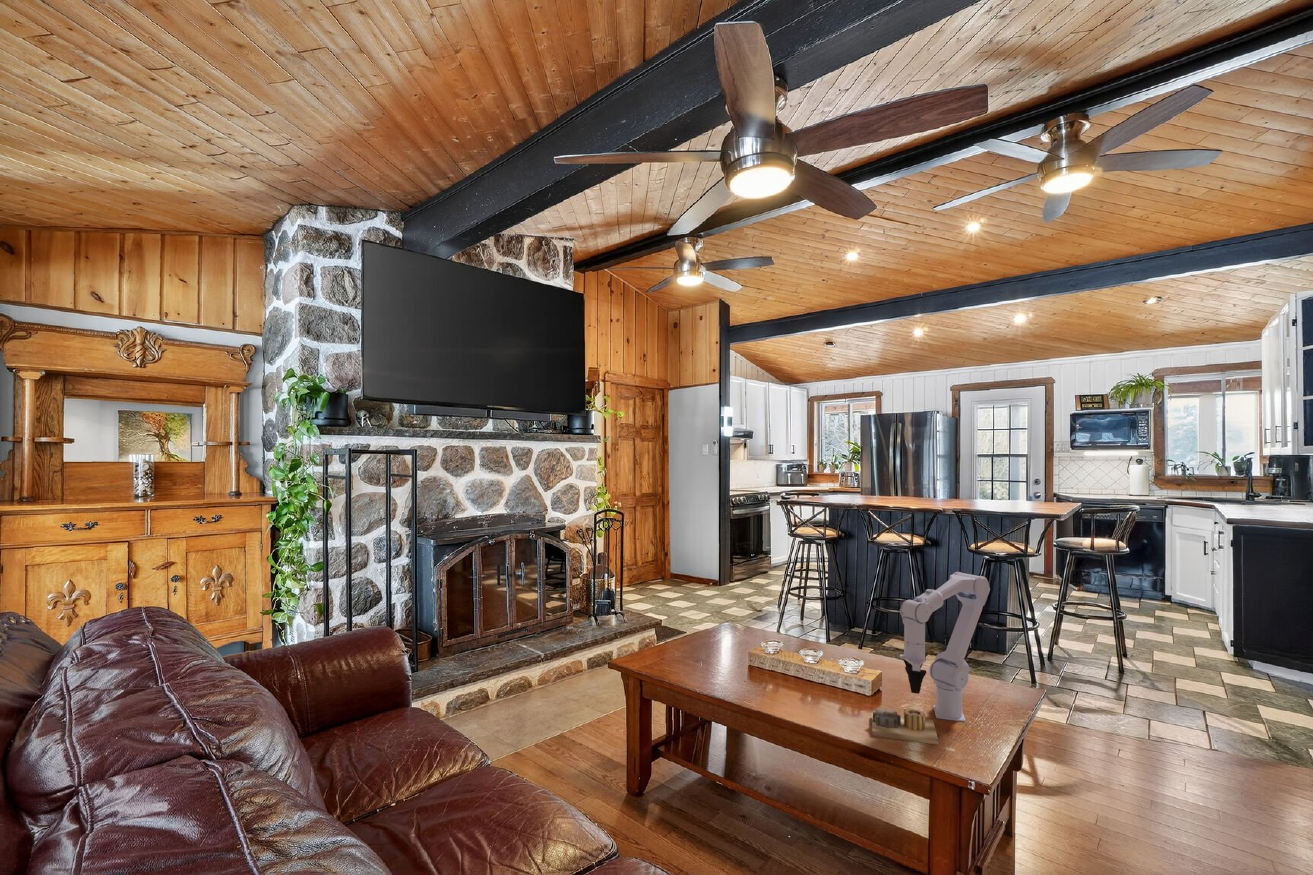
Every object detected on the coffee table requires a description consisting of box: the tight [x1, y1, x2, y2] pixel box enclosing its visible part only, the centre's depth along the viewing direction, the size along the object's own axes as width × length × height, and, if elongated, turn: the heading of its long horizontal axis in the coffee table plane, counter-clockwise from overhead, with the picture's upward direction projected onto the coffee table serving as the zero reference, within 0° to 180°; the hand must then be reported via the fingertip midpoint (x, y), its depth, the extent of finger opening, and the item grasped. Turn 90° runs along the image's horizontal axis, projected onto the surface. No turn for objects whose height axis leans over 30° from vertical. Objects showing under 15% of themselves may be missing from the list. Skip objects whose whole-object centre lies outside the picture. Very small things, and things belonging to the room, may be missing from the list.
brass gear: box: [903, 708, 926, 731], centre depth 174 cm, size 6×6×4 cm
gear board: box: [871, 708, 939, 746], centre depth 175 cm, size 13×17×5 cm
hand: (914, 688), depth 180 cm, fingers open, 7 cm apart
